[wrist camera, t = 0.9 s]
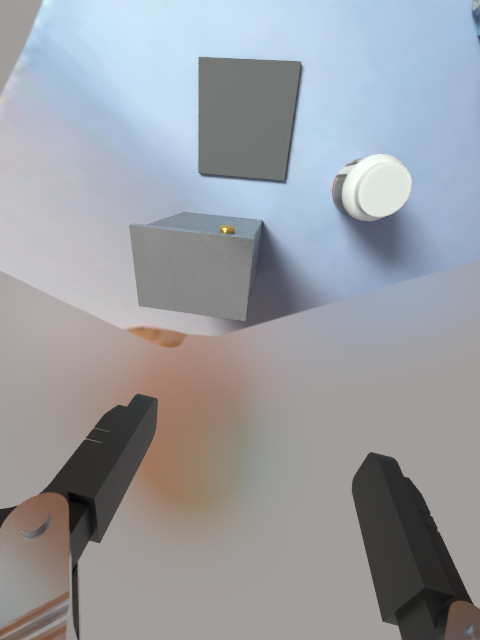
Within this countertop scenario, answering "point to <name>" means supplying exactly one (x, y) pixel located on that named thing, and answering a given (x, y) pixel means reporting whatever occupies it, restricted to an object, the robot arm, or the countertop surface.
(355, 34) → the countertop surface
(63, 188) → the countertop surface
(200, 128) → the pad
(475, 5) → the push button
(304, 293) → the countertop surface
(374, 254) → the countertop surface
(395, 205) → the pill bottle
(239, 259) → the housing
